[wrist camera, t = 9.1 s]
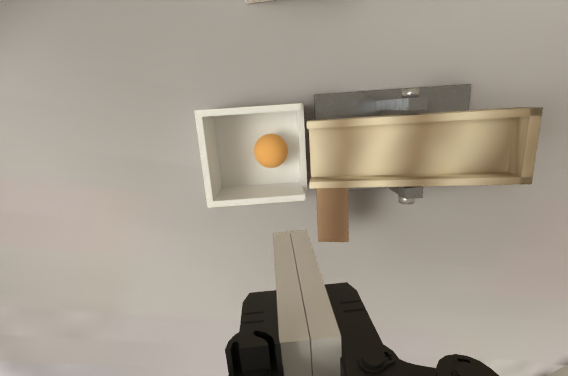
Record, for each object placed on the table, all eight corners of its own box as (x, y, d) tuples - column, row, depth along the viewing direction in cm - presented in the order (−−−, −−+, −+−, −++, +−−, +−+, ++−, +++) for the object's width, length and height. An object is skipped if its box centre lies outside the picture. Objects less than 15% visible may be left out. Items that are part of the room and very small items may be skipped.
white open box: (208, 110, 33) (194, 110, 27) (300, 104, 33) (307, 102, 27) (218, 191, 35) (207, 207, 29) (305, 185, 35) (311, 199, 29)
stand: (317, 191, 35) (331, 216, 27) (314, 94, 33) (328, 89, 24) (458, 181, 36) (514, 202, 28) (467, 84, 33) (531, 75, 25)
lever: (314, 235, 32) (312, 248, 29) (309, 120, 29) (306, 121, 26) (503, 237, 29) (521, 251, 26) (519, 107, 26) (542, 107, 23)
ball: (252, 133, 33) (253, 136, 29) (284, 131, 33) (289, 133, 30) (255, 166, 34) (256, 172, 30) (286, 163, 34) (291, 169, 31)
